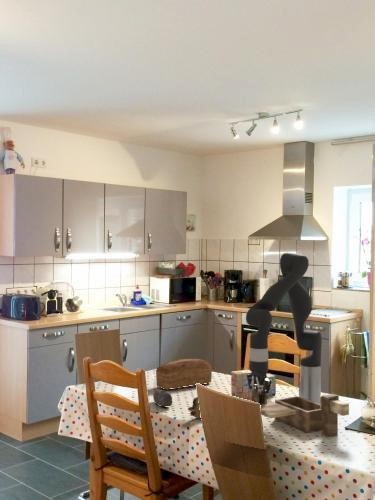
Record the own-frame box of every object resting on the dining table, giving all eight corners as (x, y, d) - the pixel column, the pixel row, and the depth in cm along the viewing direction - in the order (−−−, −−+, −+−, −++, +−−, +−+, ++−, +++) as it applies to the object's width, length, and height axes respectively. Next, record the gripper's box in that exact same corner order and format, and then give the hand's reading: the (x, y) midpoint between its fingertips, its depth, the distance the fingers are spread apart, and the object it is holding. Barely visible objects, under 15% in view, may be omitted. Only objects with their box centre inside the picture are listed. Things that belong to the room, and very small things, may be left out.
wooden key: (320, 407, 214) (320, 397, 214) (326, 406, 216) (326, 396, 216) (342, 415, 204) (342, 404, 204) (348, 414, 205) (348, 403, 205)
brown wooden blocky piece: (274, 419, 232) (274, 383, 232) (297, 415, 237) (297, 379, 237) (320, 438, 208) (320, 398, 207) (344, 433, 213) (344, 394, 213)
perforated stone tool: (149, 401, 258) (149, 387, 258) (160, 400, 261) (160, 385, 261) (162, 410, 245) (162, 394, 245) (173, 408, 247) (173, 393, 247)
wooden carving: (209, 412, 242) (209, 389, 242) (218, 414, 239) (218, 390, 239) (185, 421, 229) (185, 396, 229) (194, 423, 226) (194, 398, 226)
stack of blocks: (269, 392, 276) (269, 367, 276) (276, 395, 270) (276, 369, 270) (231, 396, 268) (230, 371, 268) (237, 399, 262) (237, 373, 262)
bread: (152, 387, 286) (152, 361, 286) (201, 379, 302) (201, 355, 302) (164, 392, 275) (164, 365, 275) (214, 384, 292) (214, 358, 292)
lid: (239, 405, 223) (239, 389, 223) (263, 401, 229) (263, 386, 229) (270, 418, 205) (270, 401, 205) (295, 413, 211) (295, 397, 211)
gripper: (277, 361, 217) (277, 405, 217) (255, 355, 229) (255, 397, 229) (261, 363, 213) (261, 408, 213) (240, 357, 226) (240, 399, 226)
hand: (258, 402), depth 221 cm, fingers closed on lid, 3 cm apart
